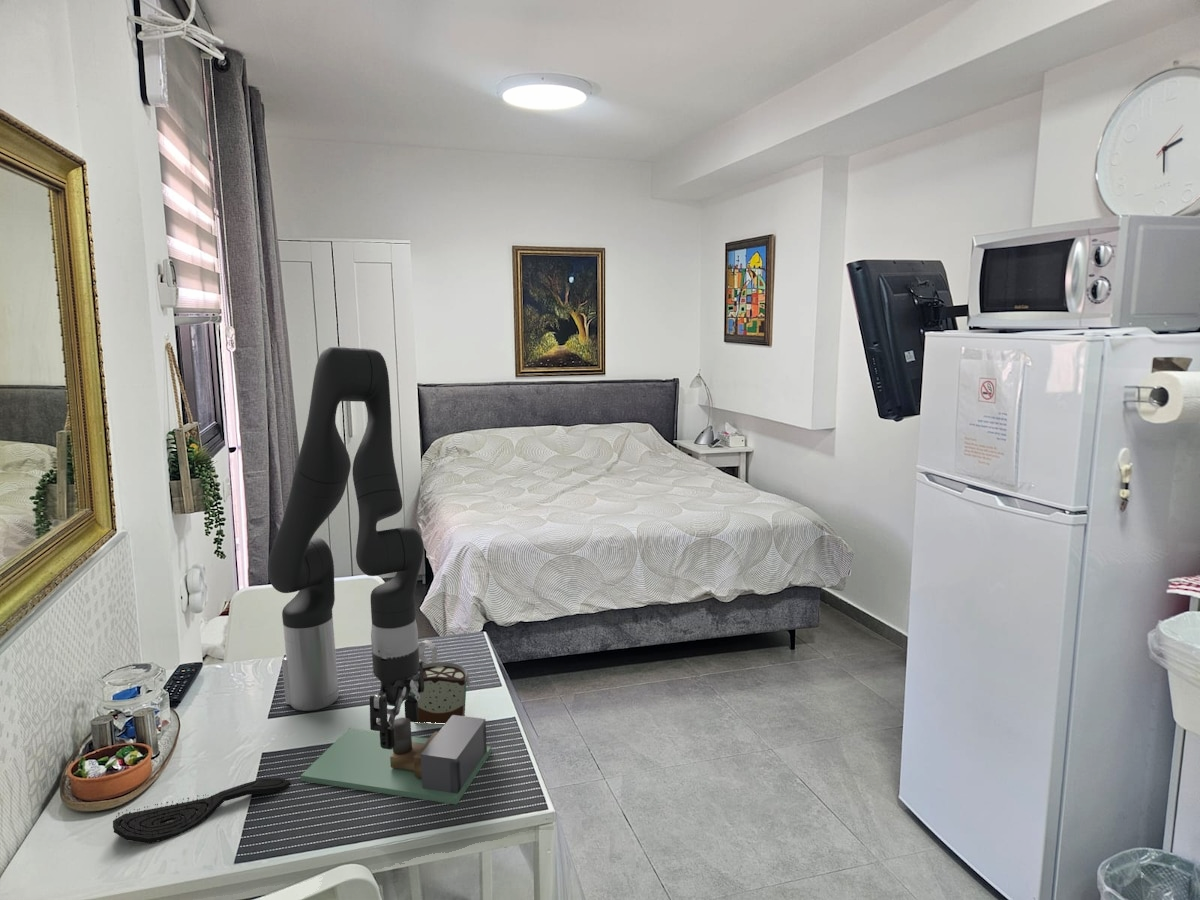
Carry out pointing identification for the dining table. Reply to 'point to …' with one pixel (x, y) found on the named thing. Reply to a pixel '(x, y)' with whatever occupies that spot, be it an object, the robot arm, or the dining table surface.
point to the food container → (442, 692)
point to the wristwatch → (422, 649)
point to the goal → (453, 754)
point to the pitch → (374, 769)
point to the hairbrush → (185, 813)
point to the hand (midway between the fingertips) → (400, 734)
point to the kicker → (407, 747)
